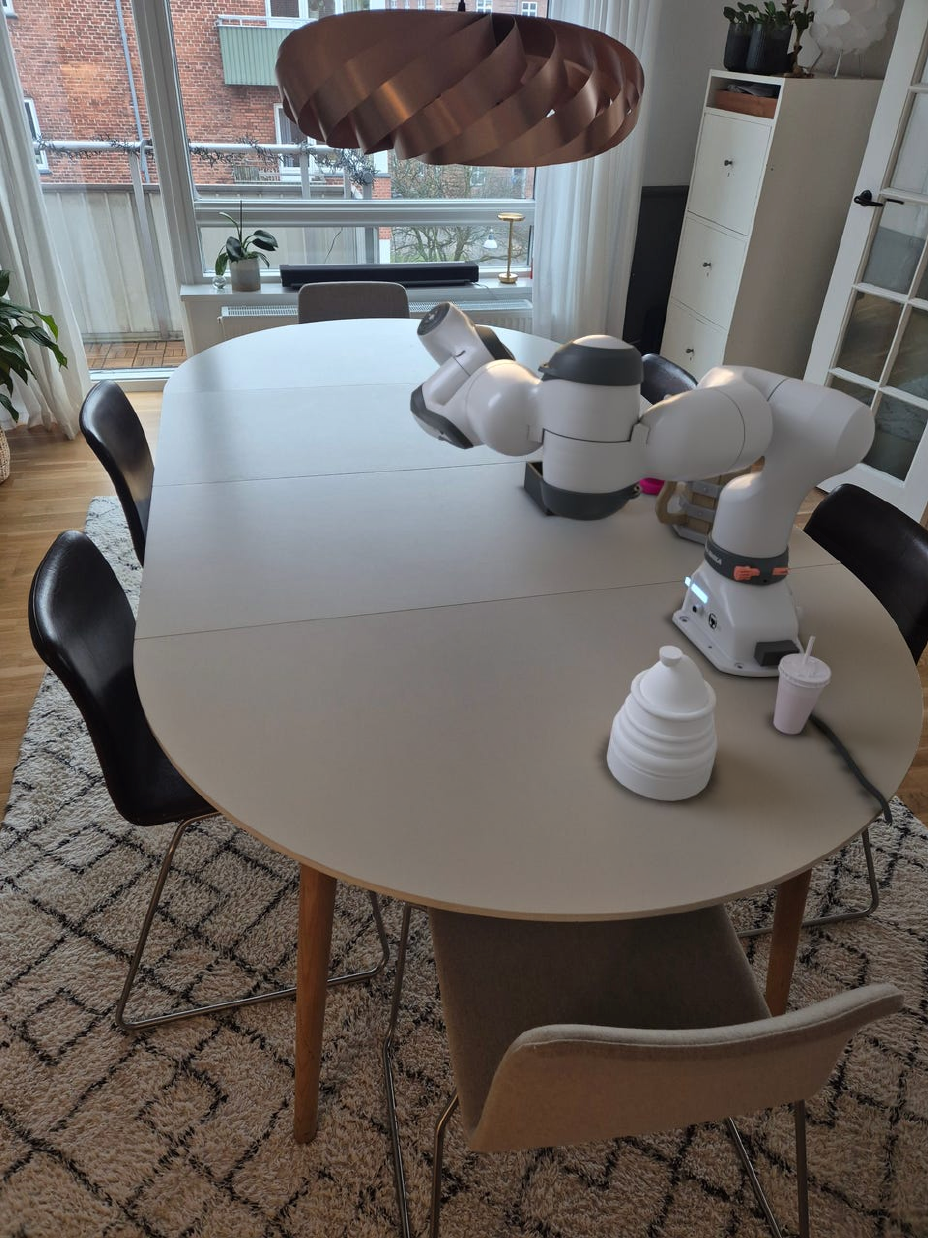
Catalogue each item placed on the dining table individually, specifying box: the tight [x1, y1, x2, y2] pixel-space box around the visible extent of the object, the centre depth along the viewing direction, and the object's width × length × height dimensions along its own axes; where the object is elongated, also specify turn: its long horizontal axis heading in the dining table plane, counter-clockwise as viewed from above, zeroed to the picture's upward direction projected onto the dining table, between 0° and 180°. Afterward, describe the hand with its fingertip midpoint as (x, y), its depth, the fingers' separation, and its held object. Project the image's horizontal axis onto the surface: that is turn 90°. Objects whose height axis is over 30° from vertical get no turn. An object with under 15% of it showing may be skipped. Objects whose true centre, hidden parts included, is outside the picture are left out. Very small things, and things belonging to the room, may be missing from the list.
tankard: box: [654, 464, 753, 546], centre depth 161 cm, size 20×13×15 cm, turn 99°
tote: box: [523, 460, 556, 516], centre depth 173 cm, size 13×12×6 cm
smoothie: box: [773, 635, 832, 735], centre depth 113 cm, size 6×6×14 cm
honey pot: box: [606, 645, 718, 802], centre depth 104 cm, size 13×13×18 cm
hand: (527, 421), depth 159 cm, fingers open, 8 cm apart
